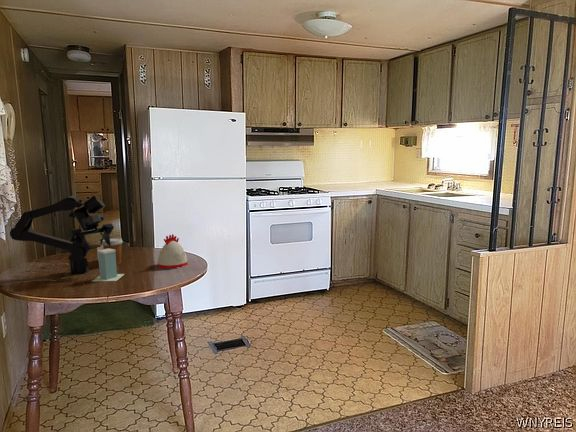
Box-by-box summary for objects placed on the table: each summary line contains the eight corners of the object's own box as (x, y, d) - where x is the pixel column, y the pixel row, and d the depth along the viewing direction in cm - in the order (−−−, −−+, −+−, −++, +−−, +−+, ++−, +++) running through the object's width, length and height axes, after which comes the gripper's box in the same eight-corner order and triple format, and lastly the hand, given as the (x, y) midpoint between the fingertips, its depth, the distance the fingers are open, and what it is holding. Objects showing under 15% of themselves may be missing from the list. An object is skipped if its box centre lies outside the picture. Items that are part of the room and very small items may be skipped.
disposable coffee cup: (123, 265, 204) (121, 240, 202) (102, 266, 201) (100, 242, 200) (125, 260, 213) (123, 237, 211) (104, 261, 210) (102, 238, 209)
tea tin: (99, 277, 182) (97, 250, 180) (110, 275, 186) (108, 248, 185) (106, 279, 179) (104, 252, 177) (117, 276, 183) (115, 249, 182)
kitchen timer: (152, 266, 202) (150, 235, 200) (175, 260, 213) (173, 230, 211) (170, 270, 194) (168, 238, 192) (193, 264, 205) (192, 233, 202)
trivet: (92, 281, 178) (92, 281, 178) (101, 274, 188) (101, 274, 188) (116, 281, 178) (116, 280, 178) (124, 274, 188) (124, 273, 188)
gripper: (68, 211, 176) (84, 239, 172) (109, 205, 191) (125, 232, 187) (61, 227, 182) (76, 255, 178) (101, 221, 197) (117, 247, 192)
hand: (100, 247), depth 183 cm, fingers open, 9 cm apart
